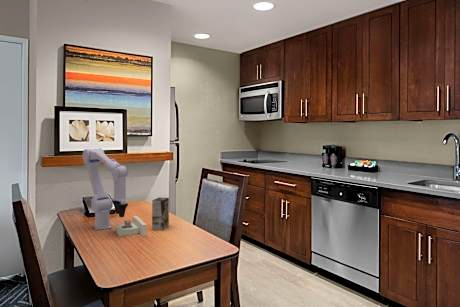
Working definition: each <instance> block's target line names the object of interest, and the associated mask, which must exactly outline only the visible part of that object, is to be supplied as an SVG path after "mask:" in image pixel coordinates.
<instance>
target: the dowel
mask: <svg viewBox="0 0 460 307" xmlns="http://www.w3.org/2000/svg"><path fill="white" fill-rule="evenodd" d="M124 224H125V228H131V224H132V223H131V220H129V219H128V220H124Z"/></svg>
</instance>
